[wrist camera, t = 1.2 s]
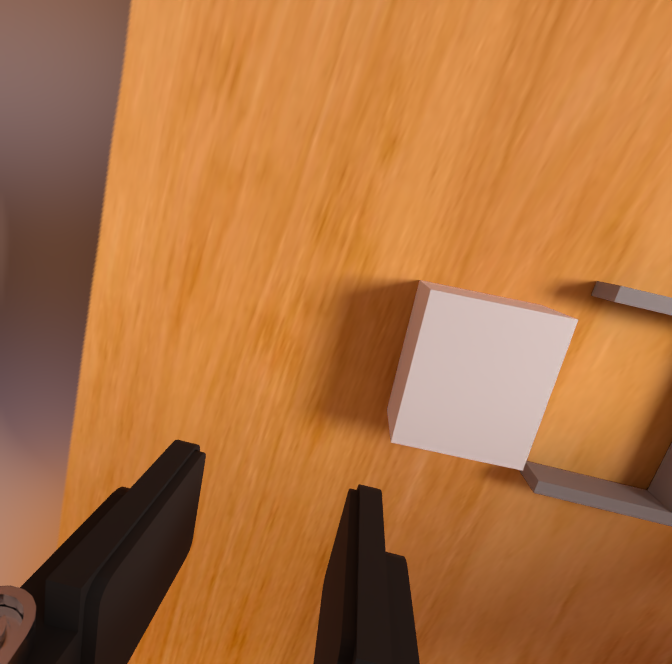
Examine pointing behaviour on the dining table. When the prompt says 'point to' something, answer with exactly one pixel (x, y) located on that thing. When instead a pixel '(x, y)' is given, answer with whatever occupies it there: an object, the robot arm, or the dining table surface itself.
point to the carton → (476, 374)
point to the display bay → (653, 504)
